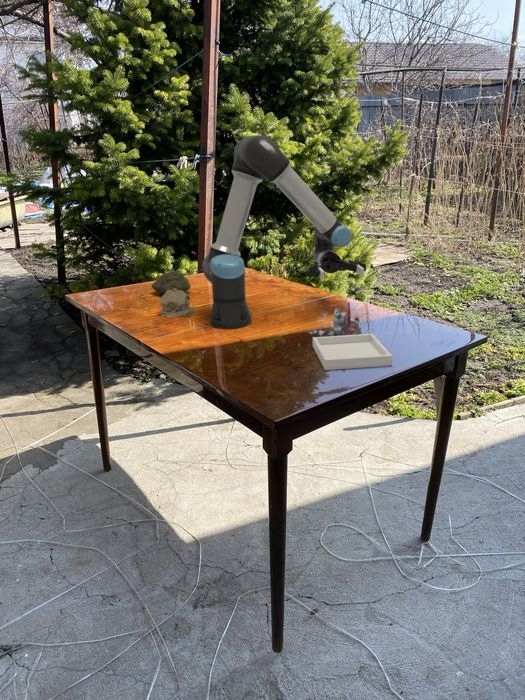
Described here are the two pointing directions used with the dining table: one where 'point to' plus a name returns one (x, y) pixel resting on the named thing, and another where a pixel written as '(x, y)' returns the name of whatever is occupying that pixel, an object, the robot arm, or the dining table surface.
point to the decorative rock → (171, 282)
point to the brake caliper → (345, 323)
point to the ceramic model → (176, 303)
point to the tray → (351, 352)
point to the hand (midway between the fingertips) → (343, 274)
